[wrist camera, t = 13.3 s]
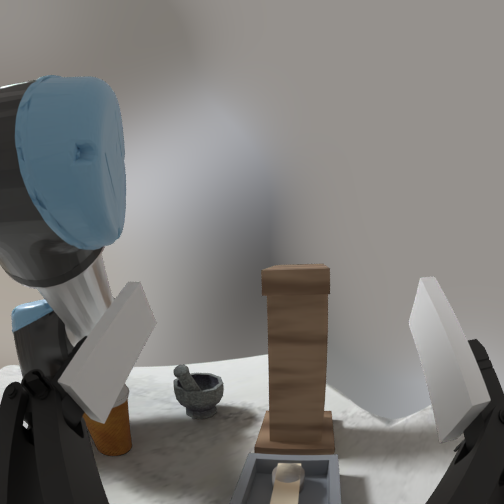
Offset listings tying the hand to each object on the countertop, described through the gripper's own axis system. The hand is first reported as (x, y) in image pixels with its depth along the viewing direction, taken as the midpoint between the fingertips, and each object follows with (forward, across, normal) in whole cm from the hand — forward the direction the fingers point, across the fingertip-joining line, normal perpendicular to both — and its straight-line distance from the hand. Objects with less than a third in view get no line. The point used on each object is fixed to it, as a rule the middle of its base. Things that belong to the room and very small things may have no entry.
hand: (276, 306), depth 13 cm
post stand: (+11, 0, -39) cm, 41 cm away
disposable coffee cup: (+1, -29, -34) cm, 45 cm away
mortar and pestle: (+16, -19, -43) cm, 49 cm away
